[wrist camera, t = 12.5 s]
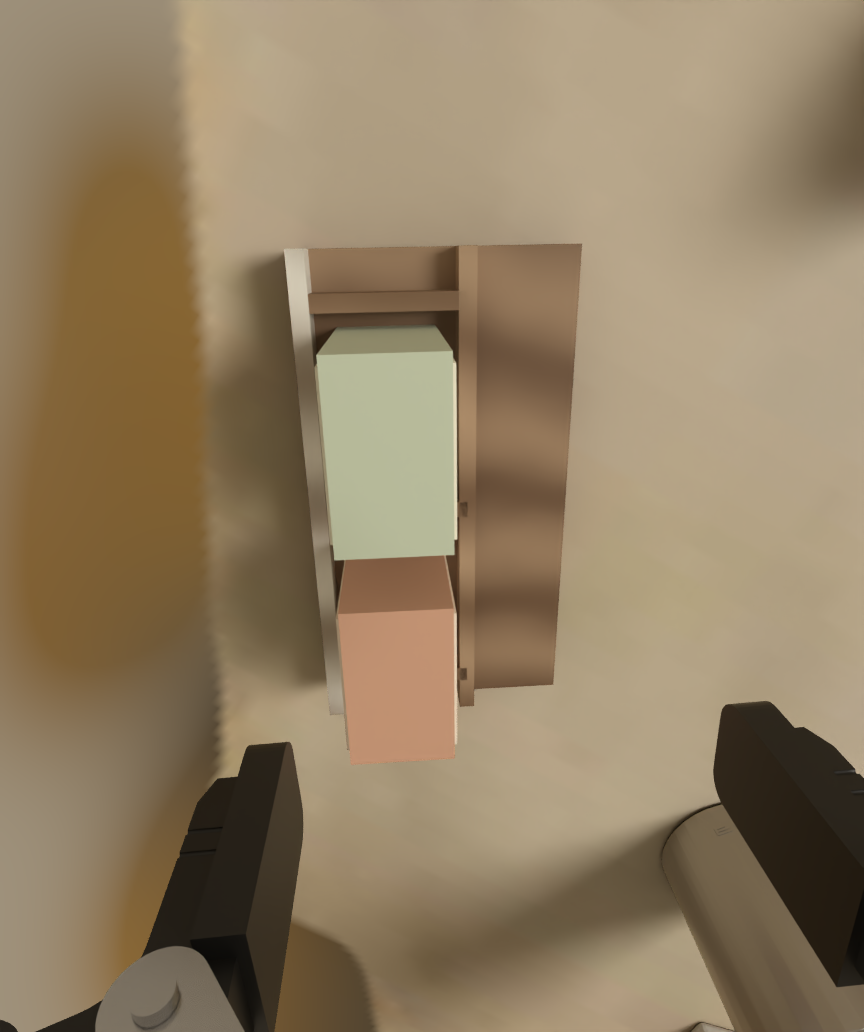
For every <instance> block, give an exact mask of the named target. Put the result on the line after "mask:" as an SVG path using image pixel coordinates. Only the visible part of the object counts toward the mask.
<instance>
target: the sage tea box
mask: <svg viewBox="0 0 864 1032" xmlns="http://www.w3.org/2000/svg"><path fill="white" fill-rule="evenodd" d="M316 357H317V364H316V366H315V367H314V369H315V380H316V392H317V403H318V414H319V425H320V436H321V447H322V458H323V470H324V481H325V492H326V503H327V514H328V525H329V537H330V545H333V550H334V560H355V559H376V558H398V557H420V556H442V555H454V540H457V397H456V362H455V360H454V359H453V351H452V349H451V348H450V346H449V345H448V343H447V342H446V340H445V339H444V337H443V336H442V334H441V333H440V331H439V330H438V328H437V327H436V326H435V325H400V326H363V327H337V328H336V329H335V331H334V332H333V333H332V335H331V336H330V337H329V339H328V340H327V342H326V343H325V344H324V346H323V347H322V348H321V350H320V351H319V352H318V354H317V355H316Z"/></svg>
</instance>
